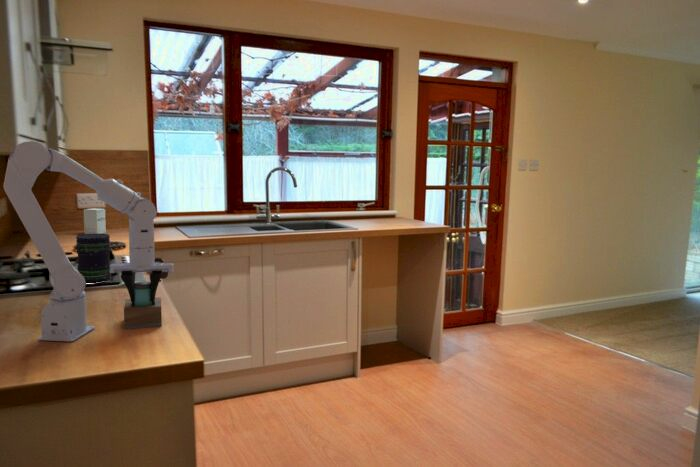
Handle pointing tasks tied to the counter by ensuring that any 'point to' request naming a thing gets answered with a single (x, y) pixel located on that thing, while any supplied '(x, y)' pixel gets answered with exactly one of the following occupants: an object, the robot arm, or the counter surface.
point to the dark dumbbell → (165, 274)
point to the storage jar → (94, 257)
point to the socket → (142, 315)
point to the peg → (142, 294)
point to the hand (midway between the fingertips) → (143, 300)
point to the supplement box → (94, 221)
